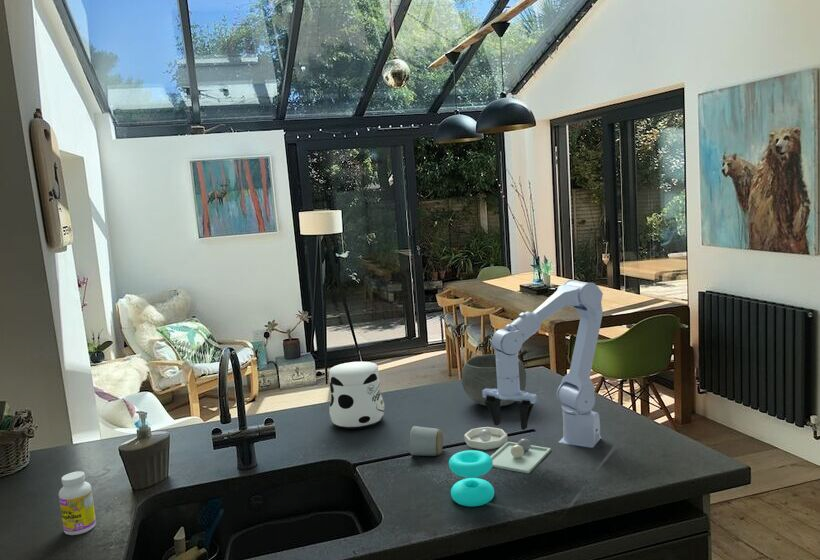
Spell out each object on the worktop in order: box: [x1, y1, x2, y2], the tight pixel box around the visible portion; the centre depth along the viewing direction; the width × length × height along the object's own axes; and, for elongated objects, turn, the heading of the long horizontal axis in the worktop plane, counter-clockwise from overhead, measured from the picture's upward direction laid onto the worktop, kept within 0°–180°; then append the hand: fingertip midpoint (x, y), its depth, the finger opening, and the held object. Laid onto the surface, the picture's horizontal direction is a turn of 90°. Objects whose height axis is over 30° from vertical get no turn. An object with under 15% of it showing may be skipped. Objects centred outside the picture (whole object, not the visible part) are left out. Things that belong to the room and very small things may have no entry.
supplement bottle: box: [58, 470, 97, 536], centre depth 146 cm, size 7×7×13 cm
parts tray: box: [489, 441, 552, 475], centre depth 166 cm, size 12×15×1 cm
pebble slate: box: [517, 437, 532, 452], centre depth 170 cm, size 3×3×3 cm
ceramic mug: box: [408, 425, 444, 457], centre depth 175 cm, size 11×8×8 cm
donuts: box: [448, 449, 495, 507], centre depth 147 cm, size 10×10×10 cm
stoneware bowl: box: [463, 426, 509, 450], centre depth 179 cm, size 11×11×2 cm
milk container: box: [328, 361, 385, 430], centre depth 202 cm, size 17×17×18 cm
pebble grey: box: [479, 429, 491, 442], centre depth 179 cm, size 3×3×3 cm
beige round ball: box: [511, 445, 524, 458], centre depth 166 cm, size 3×3×3 cm
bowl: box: [461, 353, 527, 407], centre depth 210 cm, size 21×21×15 cm
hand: (510, 426), depth 167 cm, fingers open, 7 cm apart
